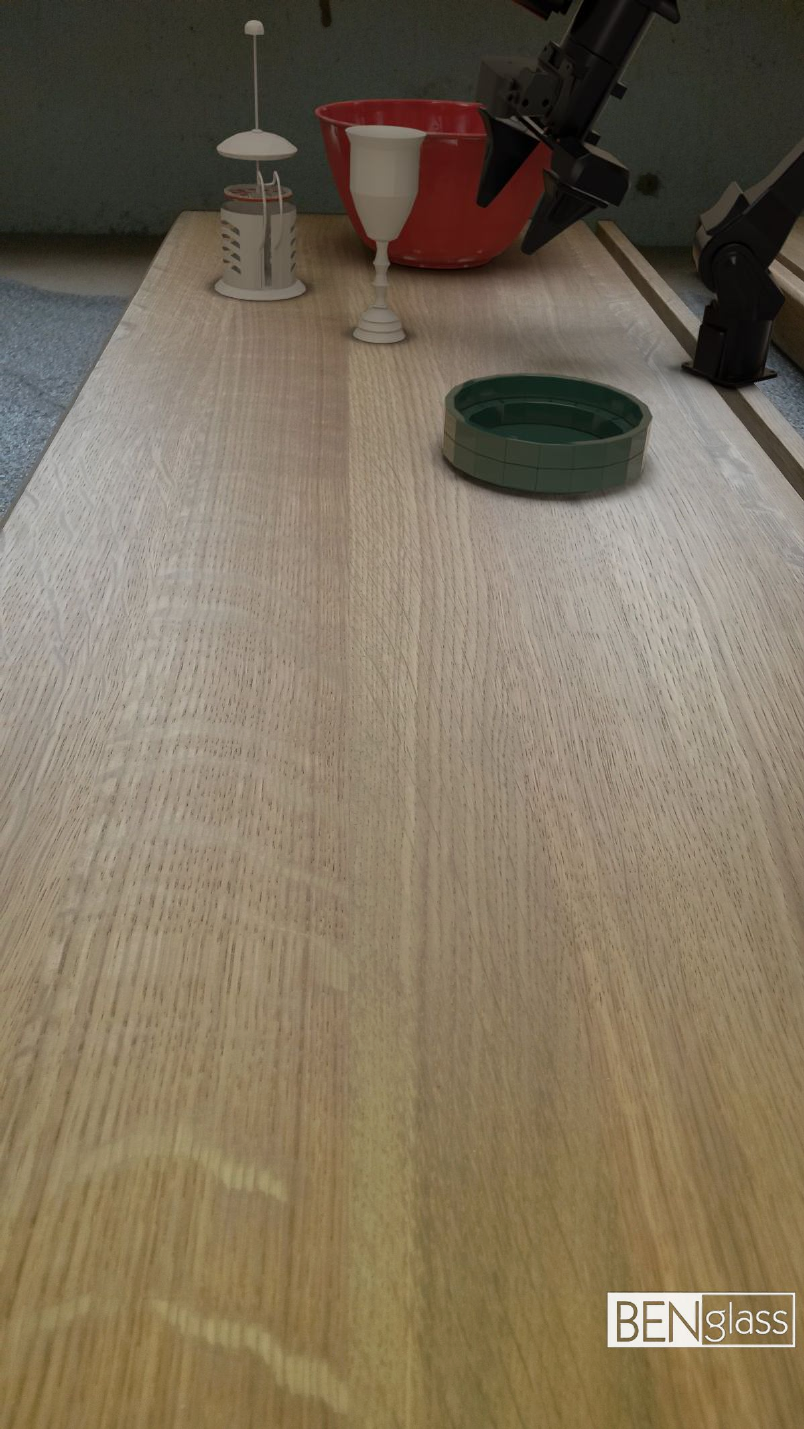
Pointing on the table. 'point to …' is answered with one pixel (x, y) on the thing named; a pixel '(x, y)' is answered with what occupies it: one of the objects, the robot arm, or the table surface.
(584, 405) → the dish
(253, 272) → the french press
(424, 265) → the mixing bowl
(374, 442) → the table surface
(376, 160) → the chalice
